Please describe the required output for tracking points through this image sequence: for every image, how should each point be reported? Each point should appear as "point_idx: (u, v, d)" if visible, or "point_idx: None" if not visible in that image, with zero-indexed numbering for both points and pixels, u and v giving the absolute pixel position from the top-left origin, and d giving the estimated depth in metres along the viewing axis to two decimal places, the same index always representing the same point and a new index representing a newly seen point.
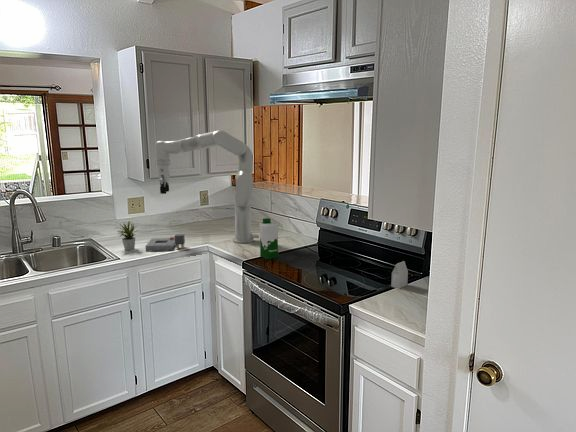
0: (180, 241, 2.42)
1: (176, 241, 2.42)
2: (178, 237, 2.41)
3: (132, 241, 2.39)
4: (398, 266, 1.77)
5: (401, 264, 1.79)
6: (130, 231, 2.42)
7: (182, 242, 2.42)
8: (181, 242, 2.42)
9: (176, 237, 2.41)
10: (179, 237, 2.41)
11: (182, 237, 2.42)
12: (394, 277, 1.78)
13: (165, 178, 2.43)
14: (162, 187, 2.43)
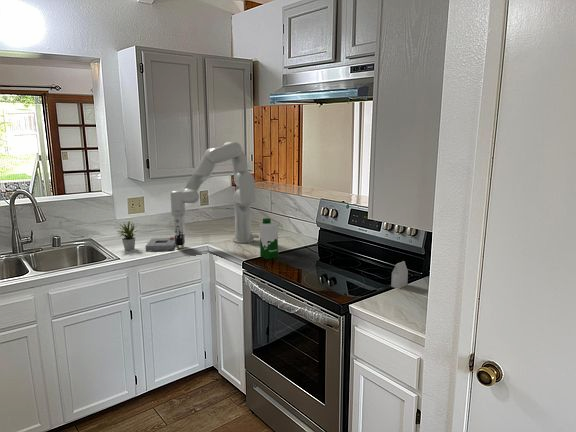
0: None
1: None
2: None
3: (132, 241, 2.39)
4: (398, 266, 1.77)
5: (401, 264, 1.79)
6: (130, 231, 2.42)
7: (182, 242, 2.42)
8: None
9: None
10: None
11: (182, 237, 2.42)
12: (394, 277, 1.78)
13: (180, 229, 2.38)
14: (178, 239, 2.40)
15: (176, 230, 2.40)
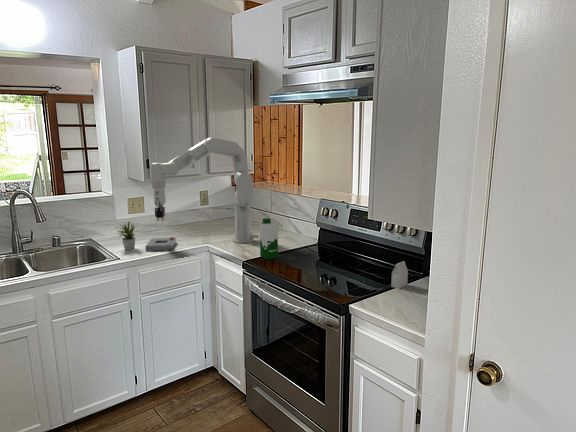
0: None
1: None
2: None
3: (132, 241, 2.39)
4: (398, 266, 1.77)
5: (401, 264, 1.79)
6: (130, 231, 2.42)
7: (162, 214, 2.42)
8: None
9: None
10: None
11: (162, 209, 2.41)
12: (394, 277, 1.78)
13: (160, 201, 2.37)
14: (158, 211, 2.40)
15: (156, 202, 2.39)
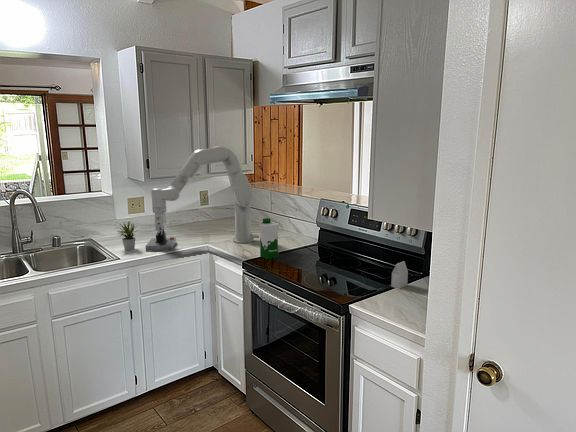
0: None
1: None
2: None
3: (132, 241, 2.39)
4: (398, 266, 1.77)
5: (401, 264, 1.79)
6: (130, 231, 2.42)
7: (163, 241, 2.45)
8: None
9: None
10: None
11: (163, 236, 2.44)
12: (394, 277, 1.78)
13: (161, 226, 2.40)
14: (159, 236, 2.42)
15: None
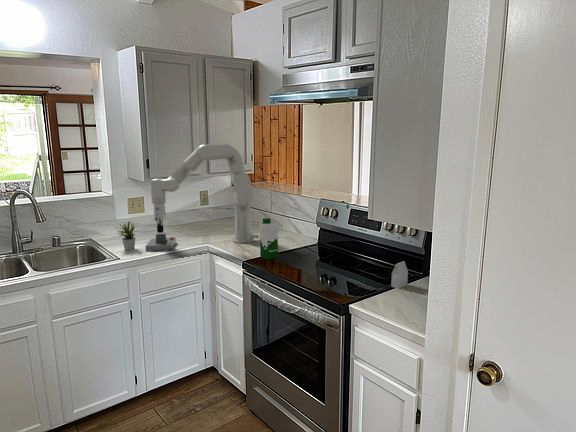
0: (161, 240, 2.44)
1: (157, 240, 2.44)
2: (159, 236, 2.44)
3: (132, 241, 2.39)
4: (398, 266, 1.77)
5: (401, 264, 1.79)
6: (130, 231, 2.42)
7: (163, 241, 2.45)
8: (162, 241, 2.45)
9: (157, 236, 2.44)
10: (160, 236, 2.44)
11: (163, 236, 2.44)
12: (394, 277, 1.78)
13: (160, 216, 2.39)
14: (159, 226, 2.43)
15: (156, 218, 2.42)
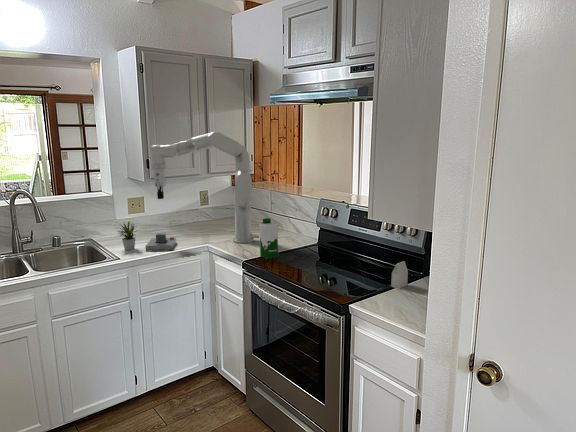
0: (161, 240, 2.44)
1: (157, 240, 2.44)
2: (159, 236, 2.44)
3: (132, 241, 2.39)
4: (398, 266, 1.77)
5: (401, 264, 1.79)
6: (130, 231, 2.42)
7: (163, 241, 2.45)
8: (162, 241, 2.45)
9: (157, 236, 2.44)
10: (160, 236, 2.44)
11: (163, 236, 2.44)
12: (394, 277, 1.78)
13: (161, 182, 2.42)
14: (159, 192, 2.46)
15: (157, 184, 2.44)
